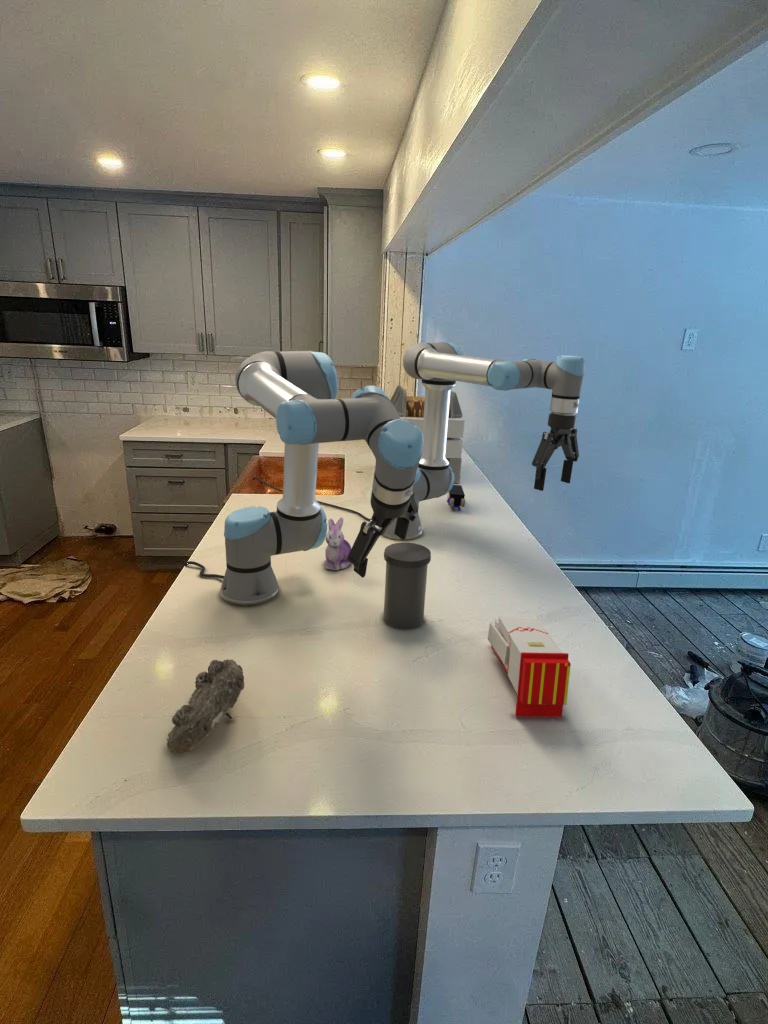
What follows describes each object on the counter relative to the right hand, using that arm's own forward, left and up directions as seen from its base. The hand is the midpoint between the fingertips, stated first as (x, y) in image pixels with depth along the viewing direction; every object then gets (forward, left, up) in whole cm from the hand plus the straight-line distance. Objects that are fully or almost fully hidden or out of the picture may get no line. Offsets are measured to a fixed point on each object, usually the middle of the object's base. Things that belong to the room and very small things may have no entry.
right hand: (552, 485), depth 166 cm
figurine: (-40, -47, -28) cm, 68 cm away
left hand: (+2, -67, -4) cm, 68 cm away
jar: (-5, -53, -28) cm, 60 cm away
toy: (+29, -48, -28) cm, 63 cm away
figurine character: (-57, +24, -28) cm, 68 cm away
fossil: (0, -107, -28) cm, 110 cm away
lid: (-5, -53, -10) cm, 54 cm away
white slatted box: (-101, +46, -28) cm, 115 cm away
